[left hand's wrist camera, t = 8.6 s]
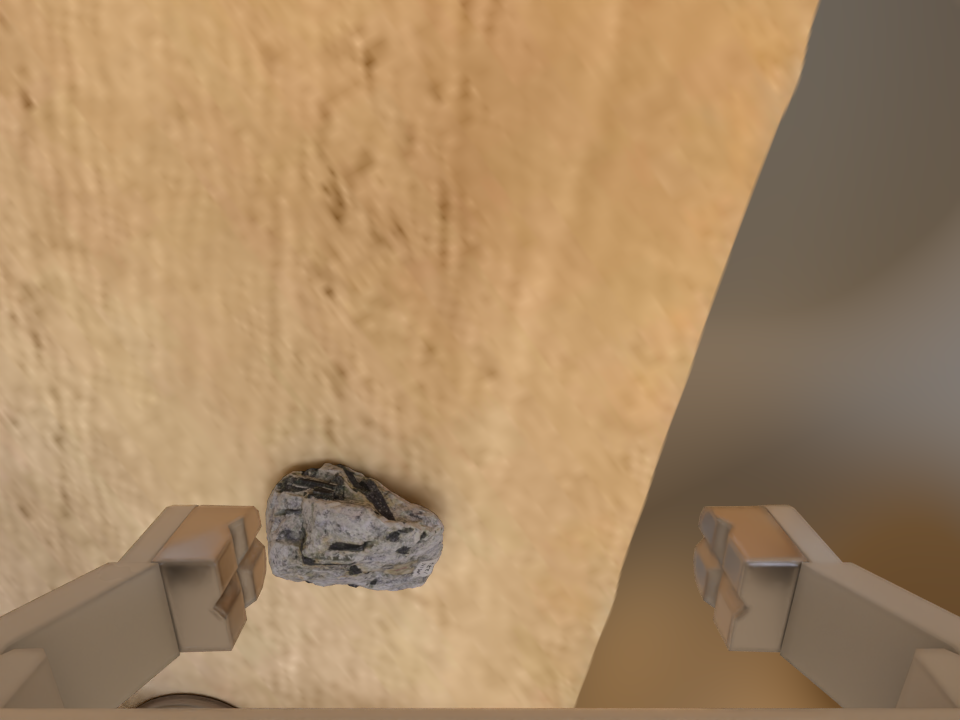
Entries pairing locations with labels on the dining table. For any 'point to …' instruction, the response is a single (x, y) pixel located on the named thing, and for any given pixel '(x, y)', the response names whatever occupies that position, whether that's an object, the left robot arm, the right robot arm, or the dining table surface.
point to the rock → (349, 532)
